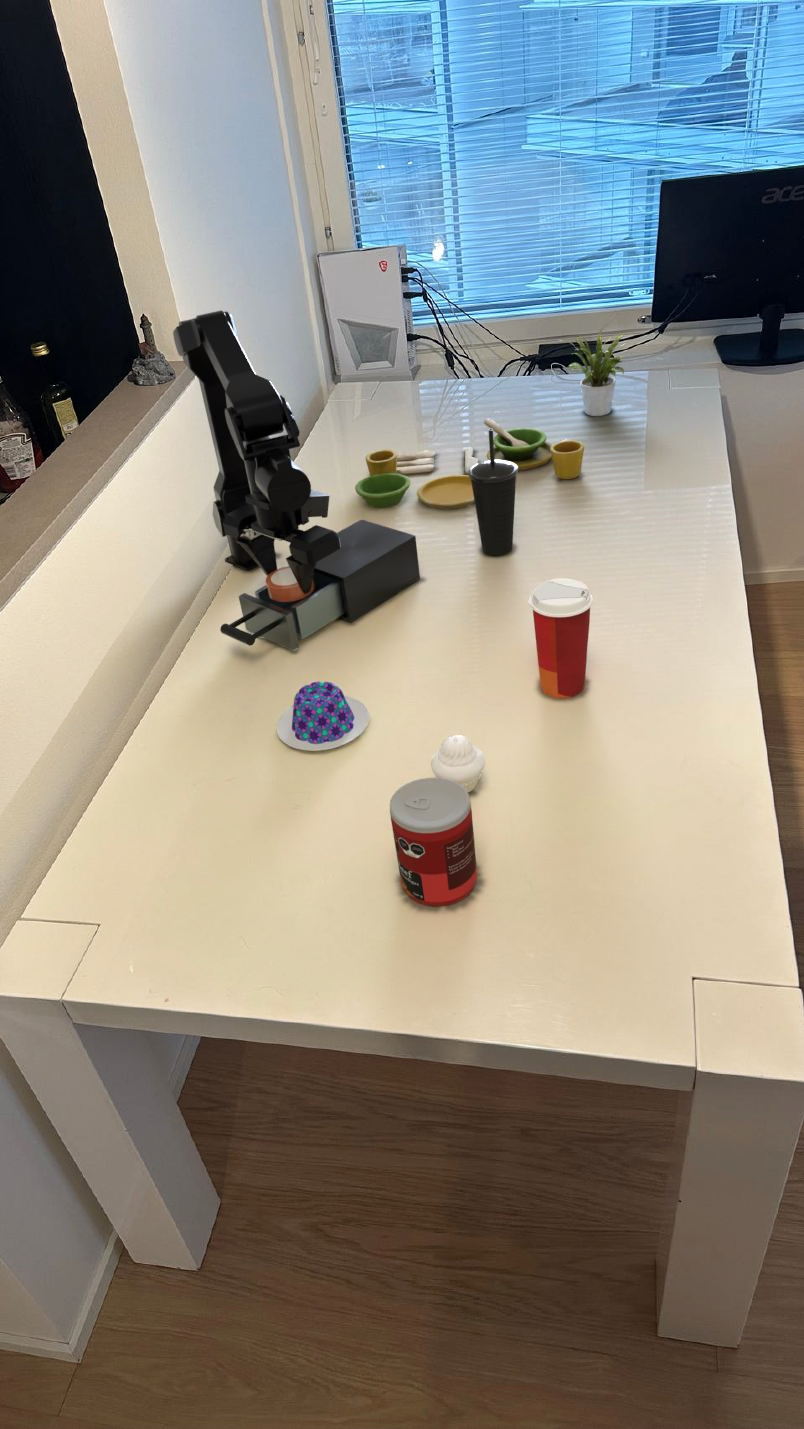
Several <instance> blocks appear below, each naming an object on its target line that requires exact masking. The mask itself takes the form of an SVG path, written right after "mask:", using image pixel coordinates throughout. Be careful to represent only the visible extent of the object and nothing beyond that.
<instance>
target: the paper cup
mask: <svg viewBox="0 0 804 1429" xmlns="http://www.w3.org/2000/svg"><path fill="white" fill-rule="evenodd" d="M527 601H528V603H527V604H528V605H529V606H530V608H531V609H532V615H533V626H534V635H535V645H536V655H537V665H538V674H539V682H540V688H541V690H542V692H543V693H544V694H545V695H547V696H549V697H551V698H553V699H554V698H555V699H569V698H570V699H571V698H573V697H576V696H578V695H579V694H581V693H582V692H583V691H584V689H585V682H586V672H587V659H588V646H589V645H588V644H589V633H590V622H591V607H592V606H593V604H594V598H593V595H592V593H591V592H590V589H589V587H588V586H587V584H585V583H584V582H583V581H580V580H577V579H573V578H565V577H563V578H562V577H561V578H560V577H559V578H553V579H548V580H546V581H543V582H541V583H539V584H538V585H537V586H536V587H535V589H533V591H532V592H531V594H530V596H529V598H528V600H527Z"/></svg>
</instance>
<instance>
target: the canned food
mask: <svg viewBox="0 0 804 1429" xmlns="http://www.w3.org/2000/svg"><path fill="white" fill-rule="evenodd" d="M389 814H390V822H391V828H392V829H391V830H392V835H393V840H394V841H393V842H394V848H395V852H396V860H397V865H398V871H399V877H400V884H401V886H402V888H403V890H404V891H405V893H406V894H407V896H408V897H410V898H411V899H412V900H413V901H414V902H416V903H419V904H422V905H425V906H430V907H444V906H449V905H453V904H456V903H458V902H460V901H462V900H464V899H465V898H466V897H468V895H470V893H471V892H472V891H473V889H474V886H475V884H476V881H477V878H478V870H477V869H478V868H477V857H476V845H475V834H474V822H473V811H472V802H471V799H470V795H469V792H468V793H467V791H466V790H465V789H464V788H463V787H462V786H461V785H459V784H458V783H456V782H454V781H451V780H448V779H444V778H437V777H424V778H419V779H415V780H412V781H410V782H407V783H406V784H405V783H404V784H403V785H402V786H400V787H399V788H398V789H397V790H396V791H395V792H394V793H393V795H392V796H391V798H390V801H389Z"/></svg>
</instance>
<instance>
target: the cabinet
mask: <svg viewBox="0 0 804 1429" xmlns="http://www.w3.org/2000/svg"><path fill="white" fill-rule="evenodd" d="M337 533H338V534H339V539H340V546H341V549H339V550H337V551H335V552H334V553H332V554H330V555H328V556H327V557H325V558H323V559H321V560H320V561H318V562H317V563H316V566H315V571H314V572H315V573H318V574H321V575H324V576H326V577H329V578H332V579H335V580H337V581H340V582H341V587H342V593H343V599H344V605H345V611H346V613H344V614H343V615H341V616H339V617H338V618H337V619H339V620H341V621H344V622H346V623H349V624H352V623H354V622H355V621H357V620H358V619H361V618H362V617H363V616H365V615H366V614H368V613H371V611H373V610H375V609H376V608H378V607H379V606H381V605H383V604H384V603H385V602H387V601H388V600H390V599H391V598H393V597H395V596H396V595H398V594H400V593H401V592H403V591H404V590H406V589H407V588H409V587H410V586H412V585H414V584H415V583H417V582H419V581H420V580H421V574H420V573H421V572H420V564H419V557H418V556H419V555H418V547H417V538H416V537H417V536H416V535H415V534H413V533H412V534H411V533H408V532H405V531H402V530H399V529H395V528H391V527H388V526H385V525H382V524H378V523H375V522H372V521H369V520H365V519H362V518H361V519H359V520H357V521H356V522H354V523H352V524H350V525H349V526H347V527H345V528H343V529H342V530H339V531H338V532H337Z"/></svg>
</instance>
